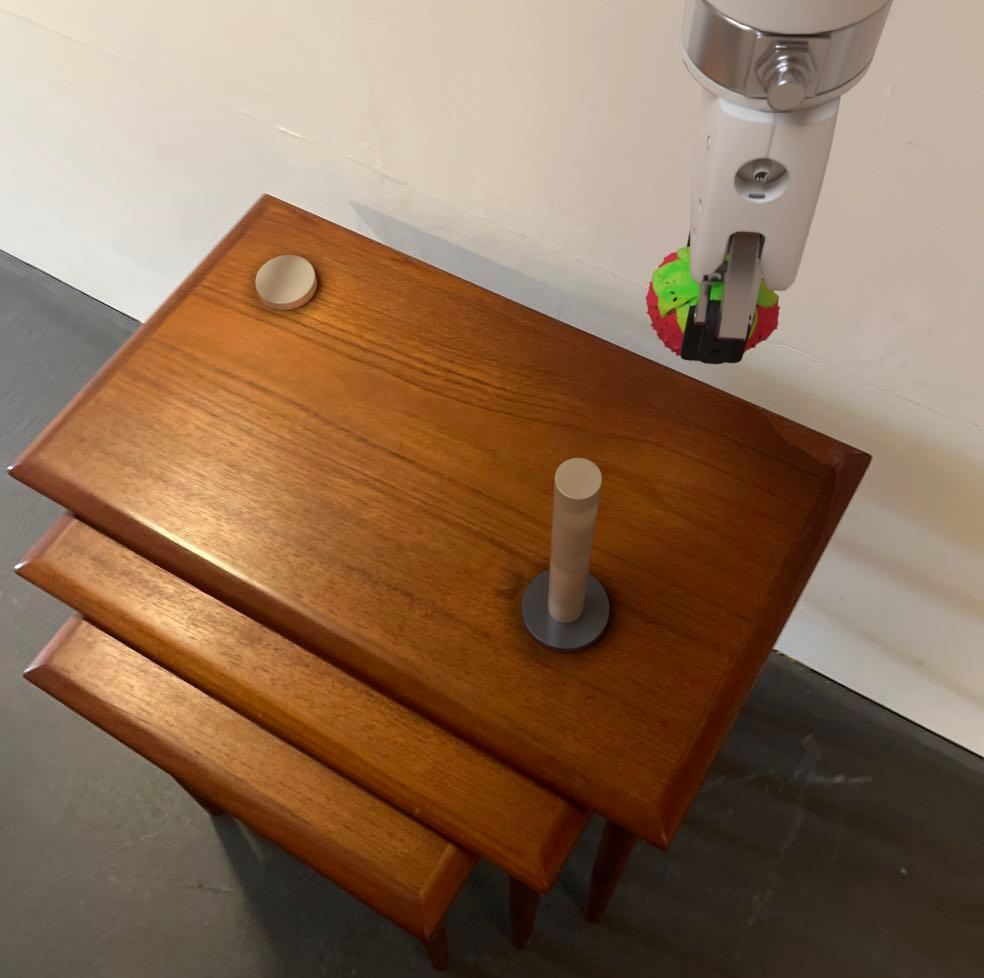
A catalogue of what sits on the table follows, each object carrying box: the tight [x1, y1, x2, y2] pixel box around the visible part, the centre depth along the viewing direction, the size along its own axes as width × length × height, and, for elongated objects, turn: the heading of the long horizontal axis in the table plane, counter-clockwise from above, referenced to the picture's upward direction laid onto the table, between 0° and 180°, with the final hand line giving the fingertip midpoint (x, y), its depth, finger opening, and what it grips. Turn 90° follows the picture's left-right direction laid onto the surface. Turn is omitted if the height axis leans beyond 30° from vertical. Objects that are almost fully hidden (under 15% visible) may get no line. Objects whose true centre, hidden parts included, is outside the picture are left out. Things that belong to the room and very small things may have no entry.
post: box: [521, 457, 611, 654], centre depth 58 cm, size 6×6×20 cm
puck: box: [254, 254, 318, 312], centre depth 81 cm, size 5×5×1 cm
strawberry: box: [645, 245, 781, 362], centre depth 54 cm, size 6×7×10 cm
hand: (712, 303), depth 54 cm, fingers closed on strawberry, 6 cm apart
